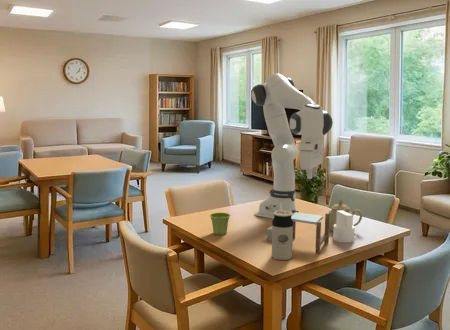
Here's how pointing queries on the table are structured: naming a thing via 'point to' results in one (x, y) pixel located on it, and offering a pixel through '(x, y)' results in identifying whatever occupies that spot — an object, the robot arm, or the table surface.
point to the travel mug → (282, 235)
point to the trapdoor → (306, 218)
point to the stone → (269, 233)
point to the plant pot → (220, 222)
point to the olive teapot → (334, 213)
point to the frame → (317, 232)
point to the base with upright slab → (343, 227)
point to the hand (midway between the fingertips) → (311, 177)
